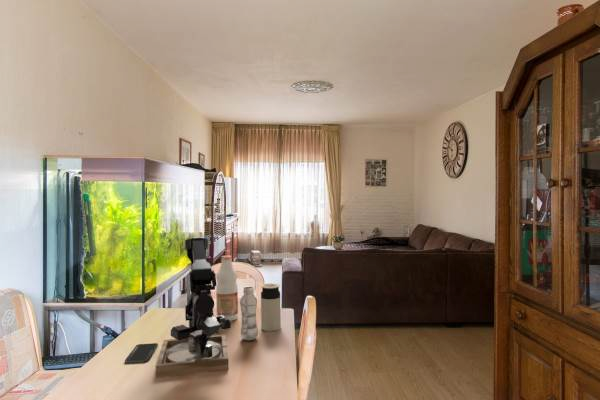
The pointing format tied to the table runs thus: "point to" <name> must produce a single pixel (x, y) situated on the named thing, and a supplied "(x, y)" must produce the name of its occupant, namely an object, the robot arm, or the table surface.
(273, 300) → the travel mug
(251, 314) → the plastic bottle
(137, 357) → the phone
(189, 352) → the dial
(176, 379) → the table surface
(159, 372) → the square wooden tray
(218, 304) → the fruit juice
